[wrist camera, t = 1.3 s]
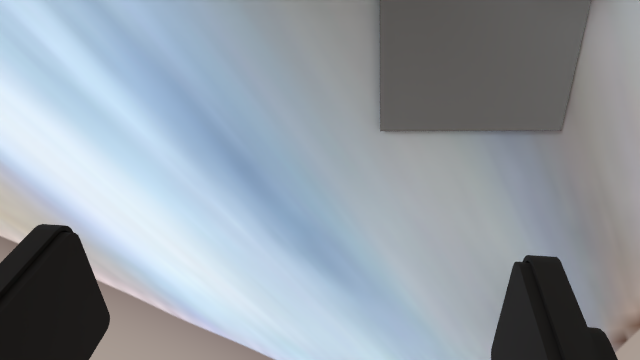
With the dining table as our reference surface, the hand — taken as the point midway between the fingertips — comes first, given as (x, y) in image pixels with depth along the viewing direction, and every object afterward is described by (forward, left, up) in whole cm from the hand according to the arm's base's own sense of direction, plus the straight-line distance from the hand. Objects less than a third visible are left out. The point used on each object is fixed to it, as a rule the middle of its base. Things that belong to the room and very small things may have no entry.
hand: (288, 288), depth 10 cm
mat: (+1, +7, -21) cm, 22 cm away
